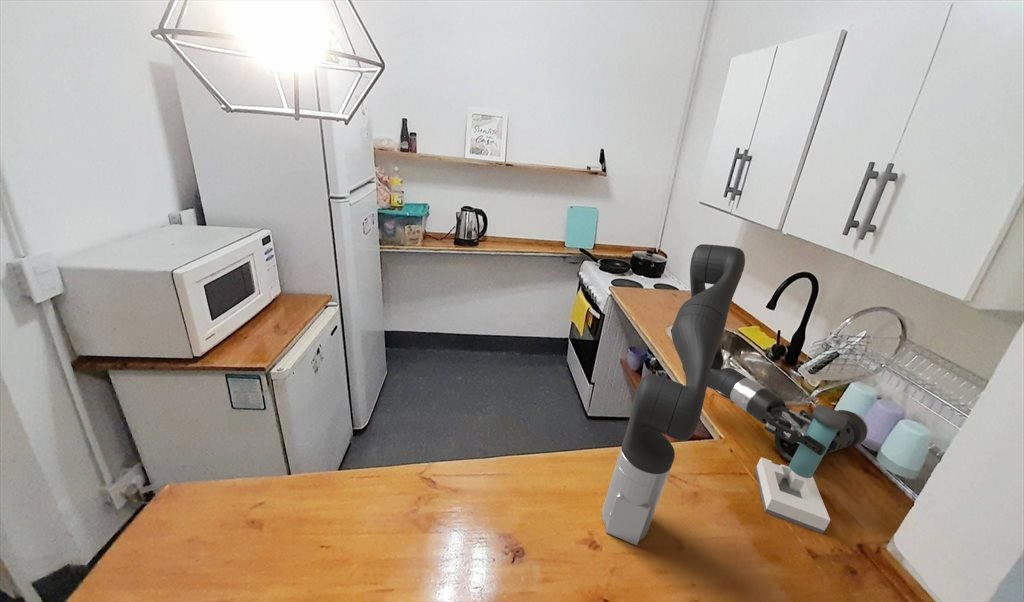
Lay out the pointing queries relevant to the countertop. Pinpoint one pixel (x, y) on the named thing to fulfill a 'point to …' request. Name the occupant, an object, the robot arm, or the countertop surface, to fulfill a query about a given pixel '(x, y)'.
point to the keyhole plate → (791, 496)
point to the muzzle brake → (846, 437)
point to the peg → (822, 432)
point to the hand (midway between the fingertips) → (830, 449)
